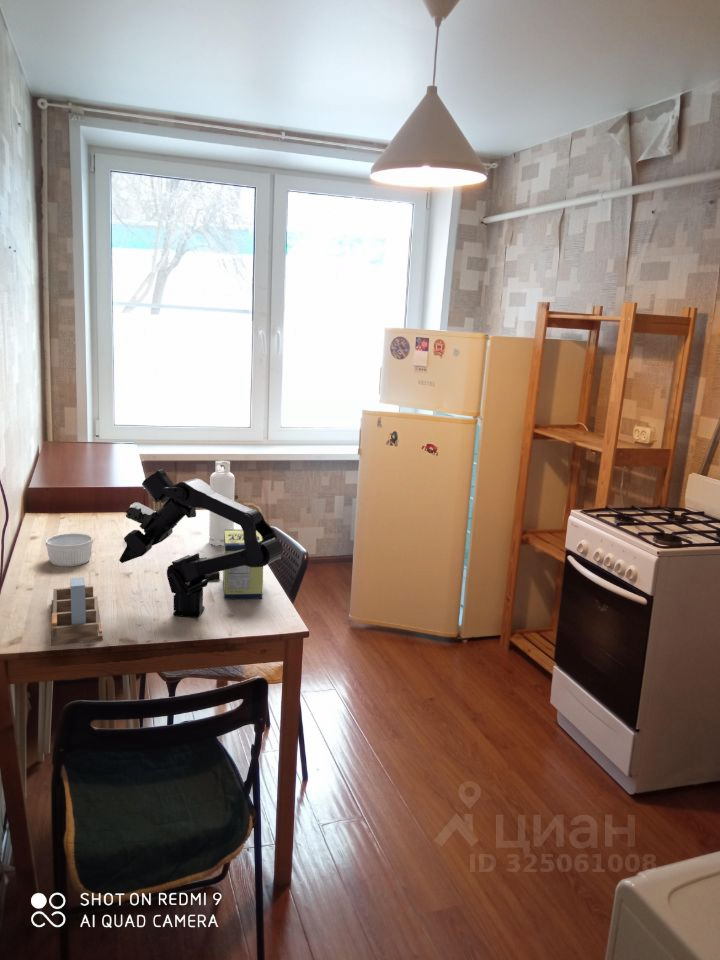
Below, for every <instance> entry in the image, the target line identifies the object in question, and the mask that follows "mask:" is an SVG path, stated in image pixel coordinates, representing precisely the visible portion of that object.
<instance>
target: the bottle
mask: <svg viewBox="0 0 720 960" xmlns="http://www.w3.org/2000/svg"><path fill="white" fill-rule="evenodd" d="M214 465H215V468H214V469H215V470H214V471H215V472H212V473H211V474H210V476H209V486H210V487H211V488H212V490H213V491H214V492H216V493H217V494H220V495H222V496H224V497H226V498H228V499H231V500H233V501H235V489H236V487H235V485H236V484H235V481H236V479H235V475H234V473H232V472H231V461H229V460H215V464H214ZM208 523H209V524H208V529H209V530H208V531H209V532H208V536H209V537H208V543H210V545H211V544H213V545H212V546H214V545H224V529H226V530H235V529H234V528H235V527H234V526H235V524H234V522H232V521H230V520H228V519H226V518H224V517H222V516H219V515H217V514H215V513H213V512H211V511H209V521H208Z"/></svg>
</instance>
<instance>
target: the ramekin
mask: <svg viewBox="0 0 720 960" xmlns="http://www.w3.org/2000/svg"><path fill="white" fill-rule="evenodd" d="M93 538H94V537H93V536H91V535H90V534H87V533H78V532H74V533H73V532H69V533H61V534H55V535H52V536H50V537H48V538H47V539H46V540H45V546H46V549H47V556H48V561H50V563H51V564H53V565H54V566H56V567H75V566H81V565H84V564H87V563H88V561H90V559H91V557H92V551H93V550H92V549H93V543H94V539H93Z"/></svg>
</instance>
